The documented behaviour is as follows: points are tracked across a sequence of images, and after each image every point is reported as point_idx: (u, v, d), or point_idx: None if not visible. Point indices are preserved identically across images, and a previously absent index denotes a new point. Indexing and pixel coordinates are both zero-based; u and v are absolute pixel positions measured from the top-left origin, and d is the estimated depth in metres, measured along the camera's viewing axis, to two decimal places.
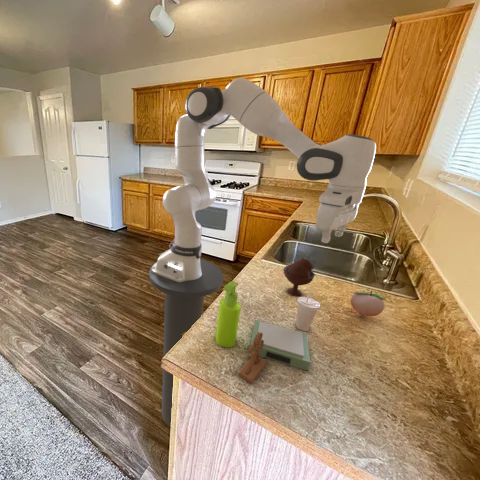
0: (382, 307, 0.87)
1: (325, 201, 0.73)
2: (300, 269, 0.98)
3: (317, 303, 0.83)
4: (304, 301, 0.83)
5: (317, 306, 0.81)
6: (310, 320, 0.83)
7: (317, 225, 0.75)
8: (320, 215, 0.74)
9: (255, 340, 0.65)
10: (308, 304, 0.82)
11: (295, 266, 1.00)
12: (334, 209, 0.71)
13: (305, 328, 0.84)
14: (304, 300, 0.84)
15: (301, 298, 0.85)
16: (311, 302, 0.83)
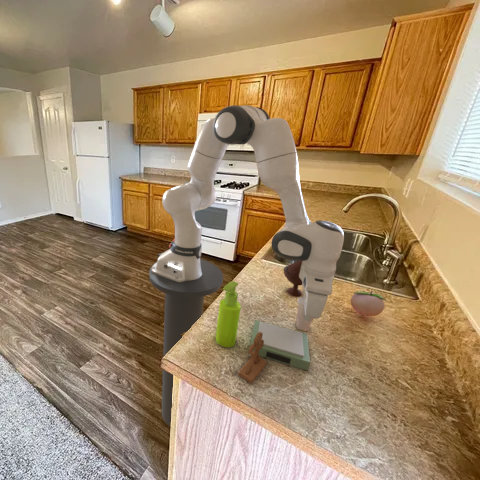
0: (382, 307, 0.87)
1: (313, 291, 0.73)
2: None
3: None
4: None
5: None
6: None
7: (308, 313, 0.74)
8: (310, 304, 0.73)
9: (255, 340, 0.65)
10: None
11: (295, 266, 1.00)
12: (323, 298, 0.72)
13: (305, 328, 0.84)
14: None
15: (301, 298, 0.85)
16: None
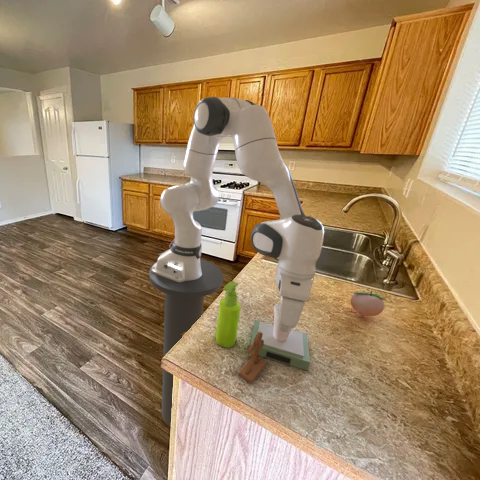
0: (382, 307, 0.87)
1: (288, 296, 0.63)
2: None
3: None
4: None
5: None
6: (288, 330, 0.73)
7: (282, 322, 0.64)
8: (284, 311, 0.64)
9: (255, 340, 0.65)
10: None
11: None
12: (300, 305, 0.62)
13: (282, 338, 0.75)
14: None
15: (278, 304, 0.75)
16: None
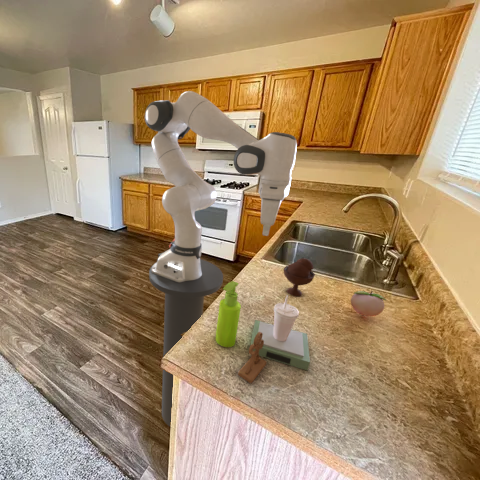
0: (382, 307, 0.87)
1: (267, 197, 0.75)
2: (300, 269, 0.98)
3: (296, 310, 0.73)
4: (281, 308, 0.73)
5: (295, 314, 0.71)
6: (288, 330, 0.73)
7: (262, 220, 0.77)
8: (264, 210, 0.76)
9: (255, 340, 0.65)
10: (285, 312, 0.72)
11: (295, 266, 1.00)
12: (276, 203, 0.75)
13: (282, 338, 0.75)
14: (281, 307, 0.74)
15: (278, 304, 0.75)
16: (289, 309, 0.73)
